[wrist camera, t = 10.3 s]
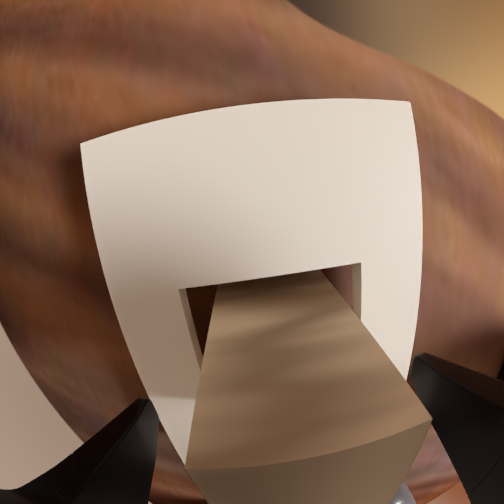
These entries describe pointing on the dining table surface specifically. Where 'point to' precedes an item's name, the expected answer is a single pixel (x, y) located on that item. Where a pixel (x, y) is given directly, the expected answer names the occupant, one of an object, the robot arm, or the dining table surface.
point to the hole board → (254, 222)
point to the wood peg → (298, 401)
